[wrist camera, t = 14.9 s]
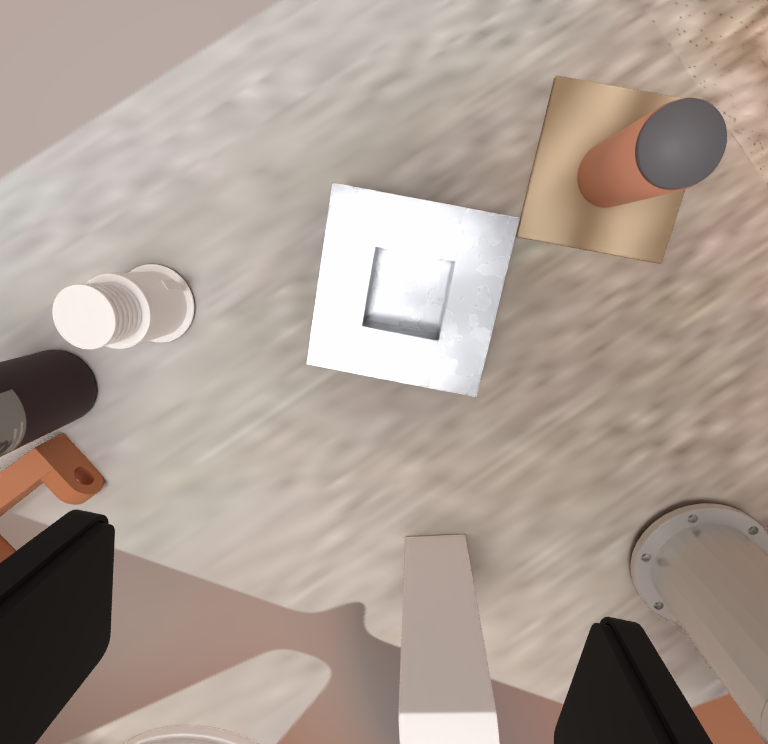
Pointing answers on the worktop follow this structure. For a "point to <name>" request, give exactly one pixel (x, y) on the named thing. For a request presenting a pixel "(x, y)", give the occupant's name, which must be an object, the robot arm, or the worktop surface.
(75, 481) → the crank
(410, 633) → the milk
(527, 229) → the plate
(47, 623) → the robot arm
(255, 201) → the worktop surface
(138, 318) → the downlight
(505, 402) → the worktop surface
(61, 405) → the wine bottle
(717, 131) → the orange grey-topped cylinder
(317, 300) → the bore housing
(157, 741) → the plate stack
